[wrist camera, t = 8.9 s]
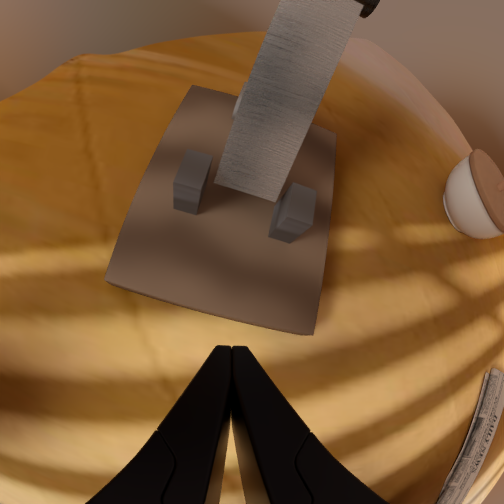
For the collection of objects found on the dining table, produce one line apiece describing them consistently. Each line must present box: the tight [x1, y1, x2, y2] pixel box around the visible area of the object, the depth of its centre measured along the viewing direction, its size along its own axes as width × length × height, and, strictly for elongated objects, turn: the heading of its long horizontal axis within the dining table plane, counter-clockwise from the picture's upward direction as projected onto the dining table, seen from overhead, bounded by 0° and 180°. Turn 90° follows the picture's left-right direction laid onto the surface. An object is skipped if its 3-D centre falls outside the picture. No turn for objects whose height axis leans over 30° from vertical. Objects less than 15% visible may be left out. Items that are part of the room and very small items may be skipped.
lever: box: [214, 0, 380, 202], centre depth 13 cm, size 3×5×16 cm
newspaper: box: [437, 368, 504, 504], centre depth 21 cm, size 23×12×2 cm, turn 154°
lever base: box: [104, 82, 337, 335], centre depth 18 cm, size 18×14×7 cm
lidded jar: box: [443, 149, 504, 239], centre depth 25 cm, size 11×11×9 cm
